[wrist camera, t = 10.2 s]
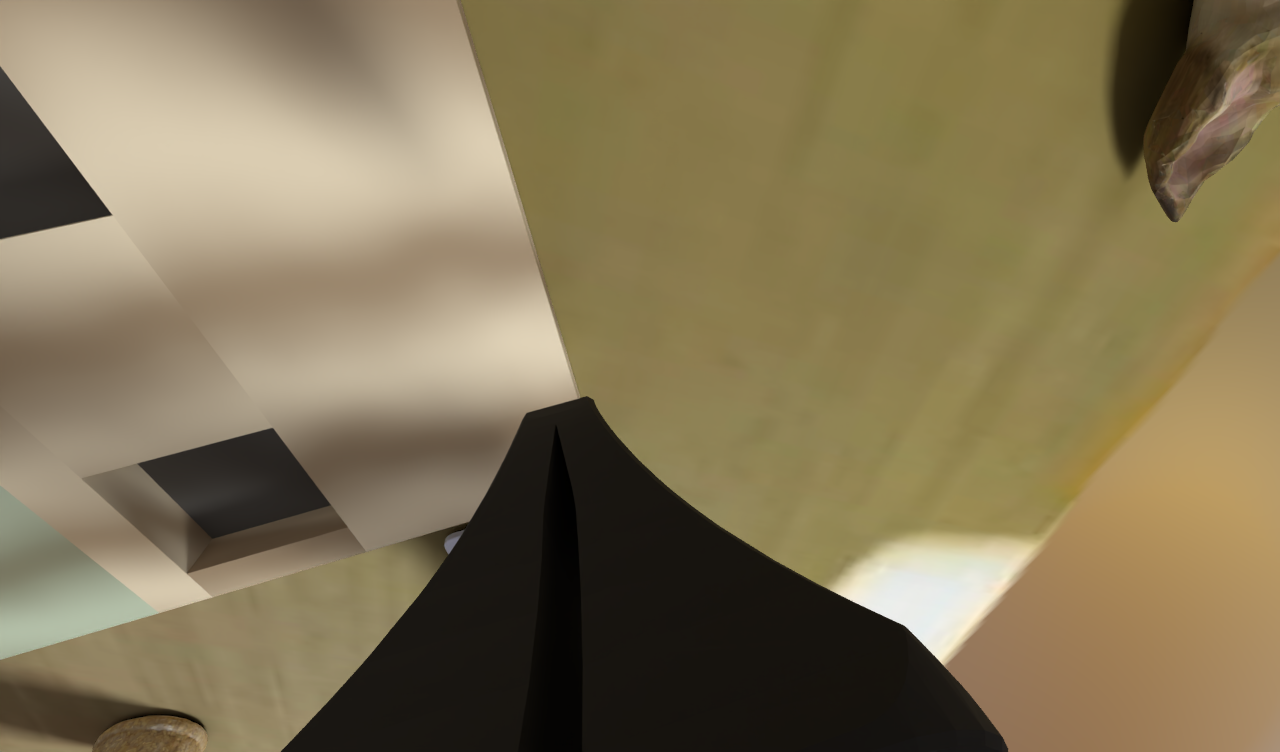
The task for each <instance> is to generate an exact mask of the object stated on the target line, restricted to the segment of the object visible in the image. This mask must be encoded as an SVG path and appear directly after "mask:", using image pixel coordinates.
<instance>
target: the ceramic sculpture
mask: <svg viewBox="0 0 1280 752" xmlns="http://www.w3.org/2000/svg"><path fill="white" fill-rule="evenodd" d="M1277 106H1280V0H1194V3H1193V8H1192V14H1191V19H1190V25H1189V31H1188V38H1187V45H1186V52H1185V54H1184V55H1183V56H1182V58H1181V59H1180V60H1179V62H1178V63H1177V65H1176V67H1175V69H1174V71H1173V73H1172V75H1171V77H1170V79H1169V81H1168V83H1167V85H1166V87H1165V89H1164V91H1163V93H1162V95H1161V97H1160V99H1159V101H1158V103H1157V105H1156V108H1155V110H1154V112H1153V114H1152V116H1151V118H1150V120H1149V122H1148V125H1147V128H1146V131H1145V134H1144V141H1143V150H1144V159H1145V162H1146V168H1147V174H1148V179H1149V183H1150V186H1151V189H1152V191H1153V193H1154V195H1155V196H1156V198H1157V200H1158V202H1159V203H1160V205H1161V207H1162V209H1163V210H1164V212H1165V213H1166V215H1167V217H1168V218H1169V219H1170V220H1171V221H1172V222H1178V221H1179V220H1180V219H1181V217H1182V216H1183V215H1184V213H1185V211H1186V210H1187V208H1188V206H1189V204H1190V202H1191V200H1192V199H1193V197H1194V196H1195V194H1196V193H1197V191H1198V190H1199V188H1200V187H1201V185H1202V184H1203V183H1204V181H1205V180H1206V179H1208V178H1209V177H1211V176H1212V175H1214V174H1215V173H1216V172H1218V171H1219V170H1220V169H1221V168H1222V167H1223V166H1225V165H1226V164H1228V163H1229V162H1230V161H1232V160H1233V159H1234V158H1235V157H1236V156H1237V155H1238V154H1239V152H1240V151H1241V150H1242V149H1243V148H1244V147H1245V146H1246V145H1247V143H1248V142H1249V141H1250V139H1251V137H1252V135H1253V133H1254V131H1255V130H1256V129H1257V127H1258V126H1259V124H1260V123H1261V122H1262V120H1263V119H1264V118H1265V117H1266V116H1267V115H1268V113H1269V112H1270V111H1271V110H1272V109H1274V108H1275V107H1277Z"/></svg>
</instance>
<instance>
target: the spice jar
mask: <svg viewBox="0 0 1280 752" xmlns="http://www.w3.org/2000/svg"><path fill="white" fill-rule="evenodd" d="M207 741H208V736H207V733H206V731H205V730H204V729H203V728H202V726H200V725H199V724H197V723H194V722H191V721H190V720H188V719H184V718H179V717H175V716H166V715H150V716H145V717H139V718H134V719H129V720H126V721H123V722H120V723H117V724H115V725H113V726H112V727H110V728H109V729H107V730H106V731H105V732H104V733H103V734H101V735H100V736H99V737H98V739H97V741H96V743H95V744H94V747H93V751H92V752H203V751H204V749H205V747H206V745H207Z"/></svg>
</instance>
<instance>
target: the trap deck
mask: <svg viewBox="0 0 1280 752" xmlns="http://www.w3.org/2000/svg"><path fill="white" fill-rule="evenodd" d="M579 398H580V395H579V392H578V388H577V385H576V382H575V378H574V375H573V372H572V368H571V365H570V362H569V358H568V355H567V352H566V348H565V345H564V342H563V338H562V335H561V332H560V329H559V325H558V322H557V319H556V315H555V312H554V309H553V305H552V302H551V299H550V295H549V292H548V289H547V285H546V282H545V279H544V276H543V272H542V269H541V266H540V262H539V259H538V256H537V252H536V249H535V246H534V242H533V239H532V236H531V232H530V229H529V226H528V222H527V219H526V216H525V213H524V209H523V206H522V203H521V199H520V196H519V193H518V189H517V186H516V183H515V179H514V176H513V173H512V169H511V166H510V163H509V160H508V156H507V153H506V150H505V146H504V143H503V140H502V136H501V133H500V130H499V126H498V123H497V120H496V116H495V113H494V110H493V106H492V103H491V100H490V97H489V93H488V90H487V87H486V83H485V80H484V77H483V73H482V70H481V67H480V63H479V60H478V57H477V53H476V50H475V47H474V44H473V40H472V37H471V34H470V30H469V27H468V24H467V20H466V17H465V14H464V10H463V7H462V4H461V0H0V660H1V659H4V658H8V657H11V656H15V655H18V654H21V653H25V652H28V651H32V650H35V649H38V648H42V647H45V646H49V645H52V644H55V643H59V642H62V641H66V640H69V639H72V638H76V637H79V636H83V635H86V634H89V633H93V632H96V631H100V630H103V629H106V628H110V627H113V626H116V625H120V624H123V623H127V622H130V621H133V620H137V619H140V618H144V617H147V616H150V615H154V614H157V613H161V612H164V611H167V610H171V609H174V608H178V607H181V606H184V605H188V604H191V603H195V602H198V601H201V600H205V599H208V598H212V597H215V596H218V595H222V594H225V593H229V592H232V591H235V590H239V589H242V588H246V587H249V586H252V585H256V584H259V583H263V582H266V581H269V580H273V579H276V578H280V577H283V576H286V575H290V574H293V573H296V572H300V571H303V570H307V569H310V568H313V567H317V566H320V565H324V564H327V563H330V562H334V561H337V560H341V559H344V558H347V557H351V556H354V555H358V554H361V553H364V552H368V551H371V550H375V549H378V548H381V547H385V546H388V545H392V544H395V543H398V542H402V541H405V540H409V539H412V538H415V537H419V536H422V535H426V534H429V533H432V532H436V531H439V530H443V529H446V528H449V527H453V526H456V525H459V524H463V523H466V522H470V520H471V518H472V517H473V515H474V513H475V512H476V510H477V508H478V507H479V505H480V503H481V501H482V500H483V498H484V496H485V495H486V493H487V491H488V489H489V487H490V485H491V483H492V482H493V480H494V478H495V476H496V474H497V472H498V470H499V468H500V466H501V464H502V462H503V460H504V458H505V456H506V454H507V452H508V450H509V448H510V446H511V444H512V441H513V439H514V437H515V435H516V433H517V430H518V428H519V426H520V424H521V421H522V419H523V418H524V416H525V414H526V413H528V412H531V411H535V410H539V409H542V408H546V407H550V406H553V405H557V404H561V403H564V402H568V401H571V400H575V399H579Z"/></svg>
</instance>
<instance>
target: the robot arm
mask: <svg viewBox="0 0 1280 752" xmlns="http://www.w3.org/2000/svg"><path fill="white" fill-rule="evenodd" d="M444 547H445V549H446V551H447V553H448V554H449V555H448V556H447V558H446V559H445V561H444V562H443V563H442V565H441V566H440V568H439V569H438V570H437V572H436V573H435V575H434V576H433V577H432V579H431V580H430V582H429V583H428V584H427V586H426V587H425V588H424V590H423V591H422V592H421V593H420V595H419V596H418V597H417V599H416V600H415V601H414V602H413V603H412V605H411V606H410V607H409V608H408V610H407V611H406V612H405V613H404V614H403V616H402V617H401V618H400V619H399V620H398V622H397V623H396V624H395V625H394V627H393V628H392V629H391V630H390V631H389V633H388V634H387V635H386V636H385V638H384V639H383V640H382V641H381V642H380V644H379V645H378V646H377V647H376V648H375V650H374V651H373V652H372V653H371V655H370V656H369V657H368V658H367V659H366V660H365V661H364V663H363V664H362V665H361V666H360V667H359V668H358V669H357V670H356V672H355V673H354V674H353V675H352V676H351V677H350V678H349V679H348V680H347V682H346V683H345V684H344V685H343V686H342V687H341V688H340V689H339V690H338V692H337V693H336V694H335V695H334V696H333V697H332V698H331V699H330V700H329V701H328V702H327V704H326V705H325V706H324V707H323V708H322V709H321V710H320V711H319V712H318V713H317V714H316V715H315V716H314V717H313V718H312V719H311V720H310V722H309V723H308V724H307V725H306V726H305V727H304V728H303V729H302V730H301V731H300V732H299V733H298V734H297V735H296V736H295V737H294V739H293V740H292V741H291V742H290V743H289V744H288V745H287V746H286V747H285V748H284V749H283V750H282V751H281V752H1008V748H1007V746H1006V744H1005V742H1004V739H1003V737H1002V736H1001V735H1000V733H999V732H998V731H997V729H996V728H995V727H994V725H993V724H992V723H991V721H990V720H989V719H988V717H987V716H986V715H985V713H984V712H983V711H982V710H981V708H980V707H979V706H978V704H977V703H976V702H975V701H974V700H973V698H972V697H971V696H970V694H969V693H968V692H967V691H966V690H965V689H964V688H963V686H962V685H961V684H960V683H959V682H958V681H957V680H956V679H955V678H954V677H953V676H952V675H951V673H950V672H949V671H948V670H947V669H946V668H945V667H944V666H943V665H942V664H941V663H940V662H939V660H938V659H937V658H936V657H935V656H934V655H933V654H932V653H931V652H930V651H929V650H928V649H927V648H926V647H925V646H924V645H923V644H922V643H921V642H920V641H919V640H918V639H917V638H916V637H915V636H914V635H913V634H912V633H911V632H910V631H909V630H908V629H907V628H906V627H905V626H903V625H901V624H899V623H897V622H895V621H893V620H891V619H888V618H886V617H884V616H882V615H880V614H878V613H876V612H873V611H871V610H869V609H867V608H865V607H863V606H861V605H859V604H856V603H854V602H852V601H850V600H848V599H846V598H844V597H842V596H840V595H838V594H836V593H834V592H832V591H830V590H828V589H826V588H824V587H822V586H820V585H818V584H816V583H815V582H813V581H811V580H809V579H807V578H806V577H804V576H802V575H800V574H798V573H796V572H795V571H793V570H791V569H789V568H787V567H785V566H784V565H782V564H780V563H778V562H776V561H774V560H773V559H771V558H770V557H768V556H766V555H765V554H763V553H762V552H760V551H758V550H757V549H755V548H754V547H752V546H750V545H749V544H747V543H746V542H744V541H742V540H741V539H739V538H737V537H736V536H734V535H733V534H731V533H729V532H728V531H726V530H725V529H723V528H721V527H720V526H719V525H717V524H716V523H714V522H713V521H712V520H710V519H709V518H707V517H706V516H705V515H703V514H702V513H700V512H699V511H698V510H696V509H695V508H694V507H692V506H691V505H690V504H688V503H687V502H686V501H685V500H683V499H682V498H681V497H679V496H678V495H677V494H676V493H674V492H673V491H672V490H671V489H670V488H669V487H667V486H666V485H665V484H664V483H663V482H662V481H660V480H659V479H658V478H657V477H656V476H655V475H654V474H653V473H652V472H651V471H650V470H649V469H648V468H646V467H645V466H644V465H643V464H642V463H641V462H640V461H639V460H638V459H637V458H636V457H635V456H634V455H633V454H632V452H631V451H630V450H629V449H628V448H627V447H626V446H625V445H624V444H623V442H622V441H621V440H620V439H619V438H618V437H617V436H616V434H615V433H614V432H613V431H612V430H611V428H610V427H609V426H608V424H607V423H606V421H605V420H604V419H603V417H602V416H601V414H600V413H599V411H598V409H597V407H596V405H595V403H594V400H593V399H591V398H589V397H587V396H586V397H582V398H579V399H575V400H571V401H568V402H564V403H561V404H557V405H553V406H550V407H546V408H542V409H539V410H535V411H531V412H528V413H526V414H525V416H524V418H523V419H522V421H521V424H520V426H519V428H518V430H517V433H516V435H515V437H514V439H513V441H512V444H511V446H510V448H509V450H508V452H507V454H506V456H505V458H504V460H503V462H502V464H501V466H500V468H499V470H498V472H497V474H496V476H495V478H494V480H493V482H492V483H491V485H490V487H489V489H488V491H487V493H486V495H485V496H484V498H483V500H482V501H481V503H480V505H479V507H478V508H477V510H476V512H475V513H474V515H473V517H472V518H471V520H470V522H469V523H468V525H467V527H466V528H465V530H462V531H459V532H455V533H452V534H450V535H448V536H447V537H446V539H445V544H444Z"/></svg>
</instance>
